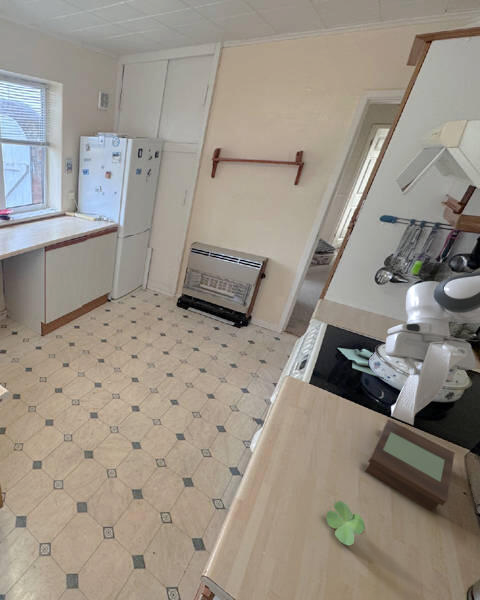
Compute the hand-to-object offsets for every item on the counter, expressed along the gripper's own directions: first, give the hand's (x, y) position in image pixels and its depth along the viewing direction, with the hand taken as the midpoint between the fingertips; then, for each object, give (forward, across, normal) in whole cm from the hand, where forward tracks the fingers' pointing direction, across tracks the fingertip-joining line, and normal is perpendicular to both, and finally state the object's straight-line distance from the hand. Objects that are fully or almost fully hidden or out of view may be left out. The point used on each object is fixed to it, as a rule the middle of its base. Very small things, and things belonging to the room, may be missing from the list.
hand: (430, 378), depth 93 cm
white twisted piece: (+11, 0, -12) cm, 16 cm away
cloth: (-12, -7, -38) cm, 41 cm away
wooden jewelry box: (+26, +8, +1) cm, 28 cm away
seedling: (+44, +31, +18) cm, 57 cm away
